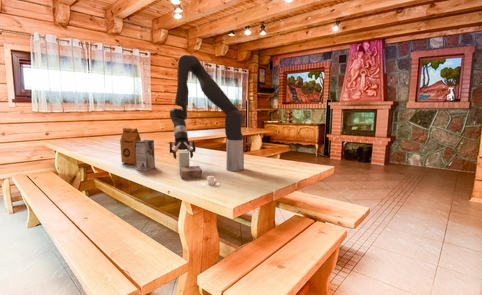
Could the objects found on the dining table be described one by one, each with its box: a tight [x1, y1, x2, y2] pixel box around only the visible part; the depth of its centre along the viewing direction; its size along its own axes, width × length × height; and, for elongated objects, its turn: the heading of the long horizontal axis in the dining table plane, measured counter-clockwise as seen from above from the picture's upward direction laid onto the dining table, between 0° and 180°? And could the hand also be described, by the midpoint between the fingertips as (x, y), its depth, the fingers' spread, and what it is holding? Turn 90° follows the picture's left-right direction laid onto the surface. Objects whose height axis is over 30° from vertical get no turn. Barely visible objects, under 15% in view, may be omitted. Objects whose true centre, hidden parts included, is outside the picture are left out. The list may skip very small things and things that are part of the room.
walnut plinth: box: [179, 165, 203, 180], centre depth 136 cm, size 10×10×4 cm
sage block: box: [178, 150, 190, 172], centre depth 145 cm, size 5×5×11 cm
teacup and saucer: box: [201, 175, 220, 188], centre depth 123 cm, size 9×8×4 cm
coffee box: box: [135, 139, 156, 172], centre depth 150 cm, size 9×6×16 cm
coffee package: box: [119, 127, 142, 166], centre depth 163 cm, size 10×12×22 cm
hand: (183, 157), depth 146 cm, fingers open, 8 cm apart
